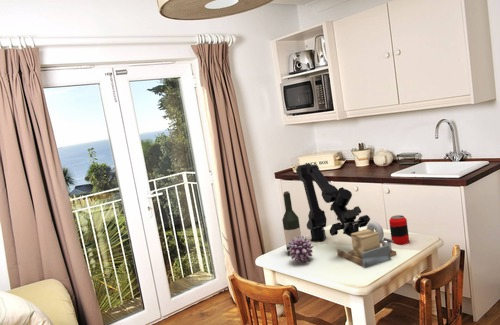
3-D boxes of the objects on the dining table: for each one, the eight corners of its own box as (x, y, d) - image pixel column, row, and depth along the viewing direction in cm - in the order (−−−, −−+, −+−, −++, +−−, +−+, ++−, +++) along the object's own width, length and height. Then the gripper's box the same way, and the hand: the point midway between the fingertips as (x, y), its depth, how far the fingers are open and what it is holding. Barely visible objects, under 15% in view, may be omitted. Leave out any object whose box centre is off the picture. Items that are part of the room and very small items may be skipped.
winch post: (379, 256, 182) (377, 238, 181) (388, 253, 184) (386, 235, 183) (389, 260, 176) (387, 242, 175) (399, 257, 178) (396, 239, 177)
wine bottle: (290, 249, 209) (281, 190, 206) (306, 249, 205) (297, 189, 202) (284, 255, 202) (274, 194, 198) (300, 255, 198) (291, 193, 195)
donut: (386, 243, 196) (383, 222, 195) (380, 245, 195) (378, 224, 194) (372, 238, 205) (369, 219, 204) (366, 240, 204) (363, 220, 203)
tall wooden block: (354, 258, 181) (350, 233, 180) (369, 253, 184) (366, 229, 183) (365, 264, 174) (362, 237, 173) (382, 258, 177) (378, 232, 175)
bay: (337, 256, 190) (335, 242, 189) (361, 248, 194) (359, 235, 193) (365, 269, 171) (363, 253, 170) (391, 260, 175) (389, 245, 174)
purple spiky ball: (317, 256, 194) (314, 231, 192) (312, 266, 182) (308, 240, 181) (293, 257, 198) (289, 232, 196) (286, 267, 187) (282, 241, 185)
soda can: (412, 242, 192) (409, 217, 190) (396, 246, 191) (393, 220, 189) (404, 238, 199) (401, 213, 198) (389, 241, 198) (385, 216, 197)
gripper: (329, 206, 182) (347, 236, 173) (365, 197, 189) (384, 225, 180) (322, 220, 190) (339, 250, 181) (356, 211, 197) (374, 239, 188)
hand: (359, 241), depth 182 cm, fingers closed
